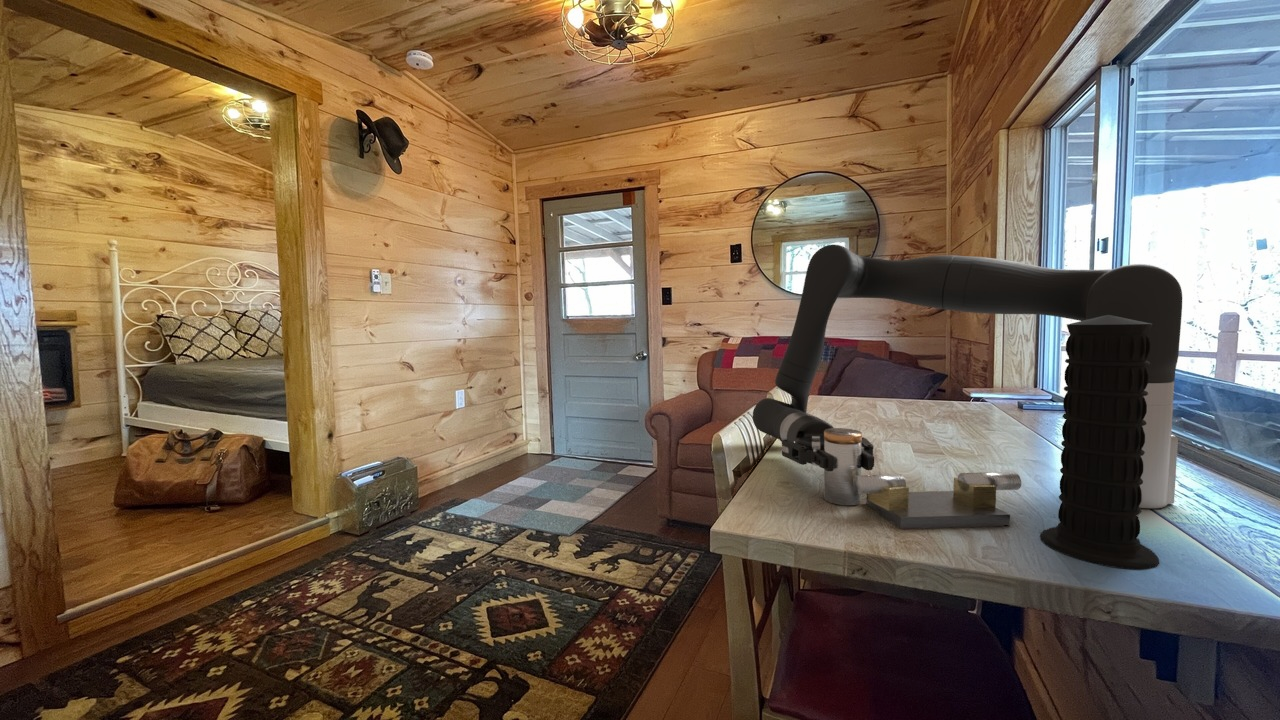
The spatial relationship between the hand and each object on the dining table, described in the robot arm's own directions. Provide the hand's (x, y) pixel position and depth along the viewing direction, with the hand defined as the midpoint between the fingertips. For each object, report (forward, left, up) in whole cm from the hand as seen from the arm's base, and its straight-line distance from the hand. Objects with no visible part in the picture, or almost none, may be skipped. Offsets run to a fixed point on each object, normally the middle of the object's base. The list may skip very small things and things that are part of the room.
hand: (850, 463), depth 70 cm
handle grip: (-22, +14, -6) cm, 27 cm away
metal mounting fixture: (-10, +3, -6) cm, 12 cm away
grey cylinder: (0, -3, -6) cm, 7 cm away
